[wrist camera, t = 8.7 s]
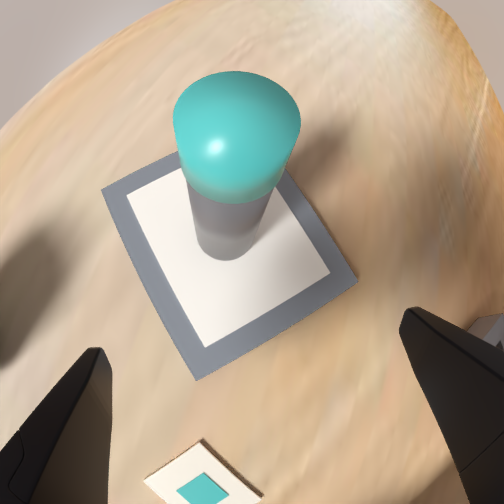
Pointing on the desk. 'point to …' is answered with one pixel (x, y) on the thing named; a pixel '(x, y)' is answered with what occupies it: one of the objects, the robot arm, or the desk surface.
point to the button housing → (490, 329)
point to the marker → (233, 154)
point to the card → (199, 481)
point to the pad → (224, 266)
